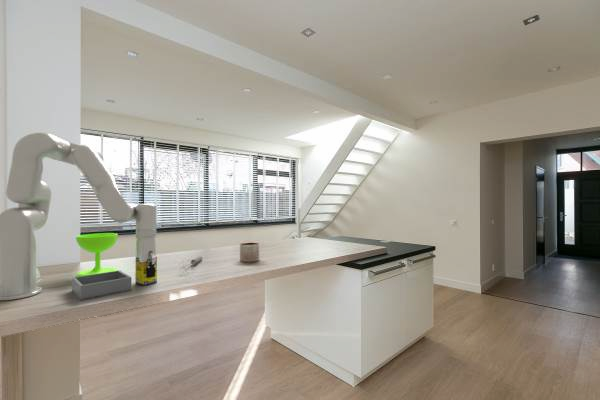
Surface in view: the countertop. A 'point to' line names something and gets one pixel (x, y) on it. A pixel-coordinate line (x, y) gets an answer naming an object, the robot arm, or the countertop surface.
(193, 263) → the kitchen whisk
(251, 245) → the planter
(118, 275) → the bin
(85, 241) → the wineglass
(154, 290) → the countertop surface
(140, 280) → the supplement box
